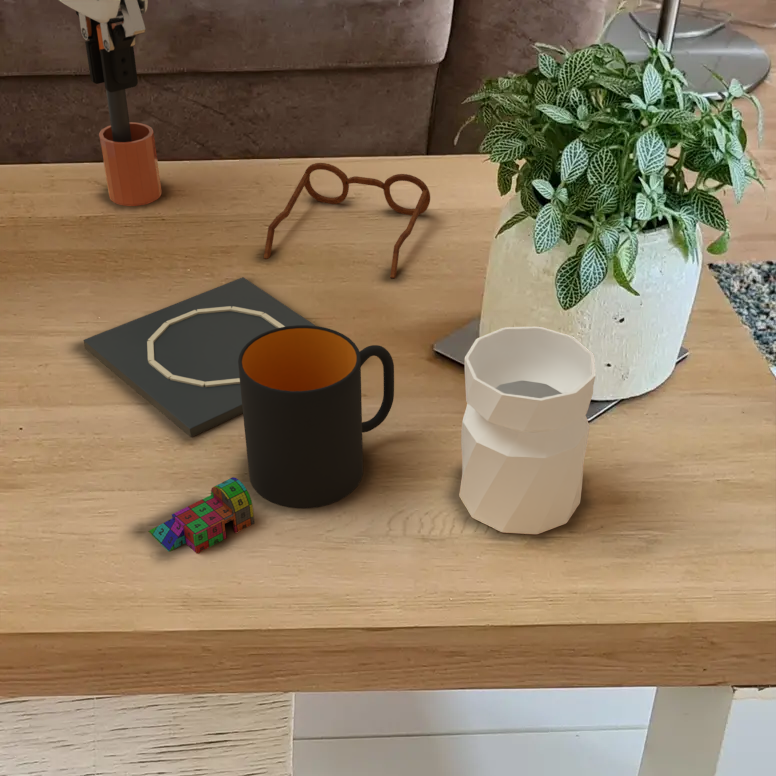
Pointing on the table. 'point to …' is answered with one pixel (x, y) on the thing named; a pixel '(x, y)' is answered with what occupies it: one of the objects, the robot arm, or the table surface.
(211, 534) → the toy block structure
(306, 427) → the mug
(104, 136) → the pen cup
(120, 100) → the marker
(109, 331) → the board
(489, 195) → the table surface
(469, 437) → the vase
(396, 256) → the glasses
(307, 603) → the table surface
